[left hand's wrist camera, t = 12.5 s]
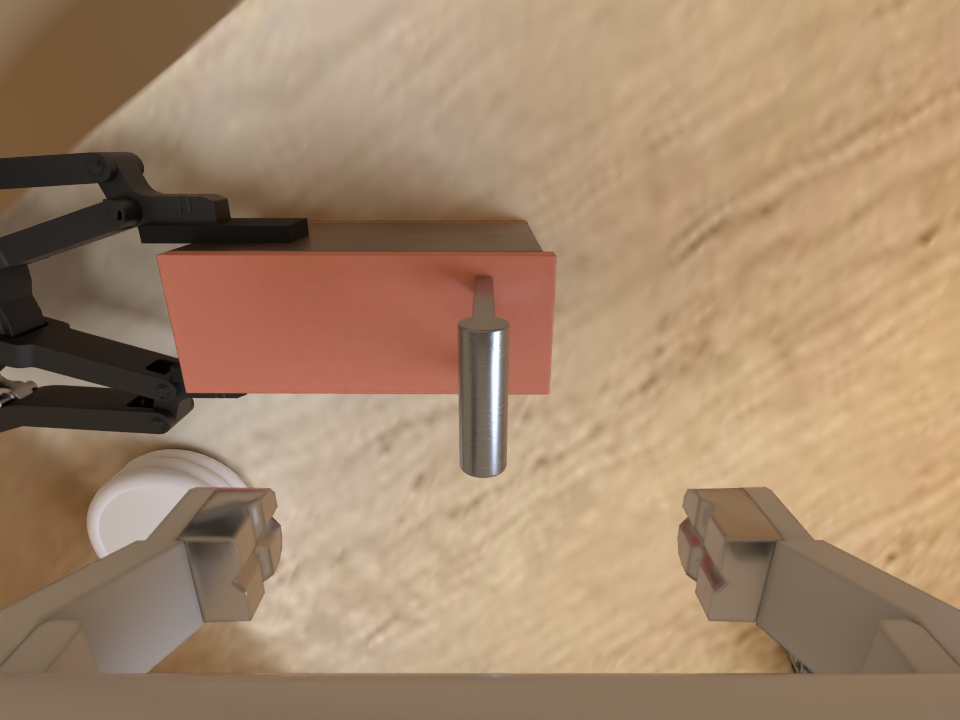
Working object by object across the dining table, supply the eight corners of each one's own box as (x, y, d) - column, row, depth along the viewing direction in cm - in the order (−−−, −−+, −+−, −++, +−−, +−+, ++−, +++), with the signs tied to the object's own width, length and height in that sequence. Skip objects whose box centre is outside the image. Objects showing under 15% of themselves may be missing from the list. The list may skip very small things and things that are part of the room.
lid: (554, 251, 22) (591, 307, 14) (547, 386, 24) (576, 497, 16) (167, 251, 22) (-3, 305, 14) (196, 385, 24) (61, 494, 16)
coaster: (260, 572, 40) (240, 611, 36) (122, 554, 39) (89, 591, 36) (263, 457, 36) (240, 488, 33) (111, 435, 36) (73, 464, 32)
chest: (526, 221, 30) (543, 251, 22) (523, 321, 33) (538, 386, 24) (260, 220, 31) (168, 250, 22) (274, 320, 33) (196, 384, 24)
